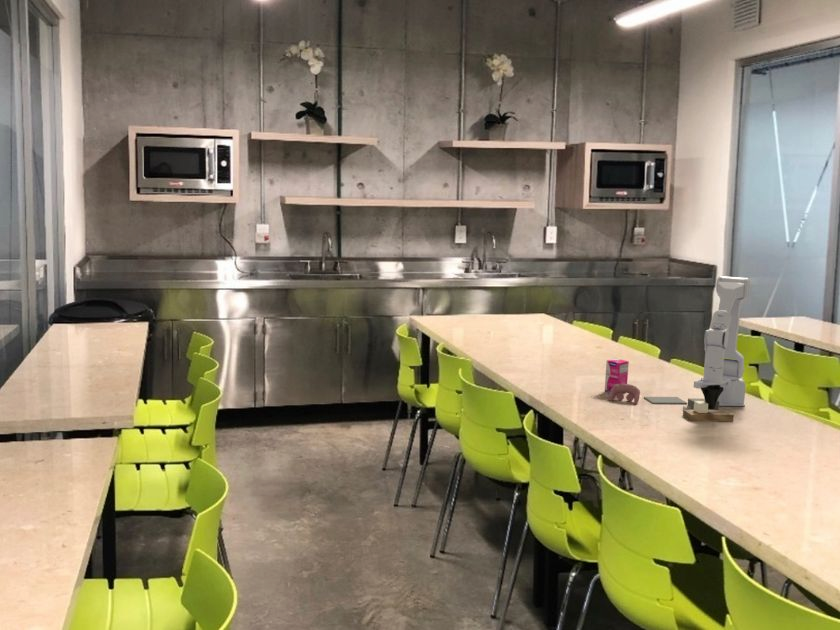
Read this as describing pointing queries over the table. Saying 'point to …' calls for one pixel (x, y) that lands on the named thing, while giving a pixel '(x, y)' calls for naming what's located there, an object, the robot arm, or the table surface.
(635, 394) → the mauve arch
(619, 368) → the supplement box
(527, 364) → the table surface
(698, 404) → the switch tab
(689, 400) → the bar
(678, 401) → the mat
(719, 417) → the switch block
